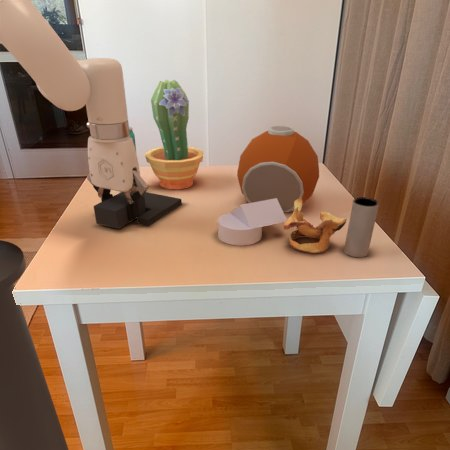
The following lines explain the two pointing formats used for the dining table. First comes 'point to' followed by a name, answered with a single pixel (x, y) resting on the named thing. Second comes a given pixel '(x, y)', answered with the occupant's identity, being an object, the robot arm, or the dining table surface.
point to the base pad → (157, 207)
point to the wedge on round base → (249, 222)
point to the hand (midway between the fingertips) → (121, 215)
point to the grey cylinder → (361, 226)
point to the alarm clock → (278, 168)
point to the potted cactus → (173, 138)
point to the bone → (312, 229)
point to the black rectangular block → (116, 211)
